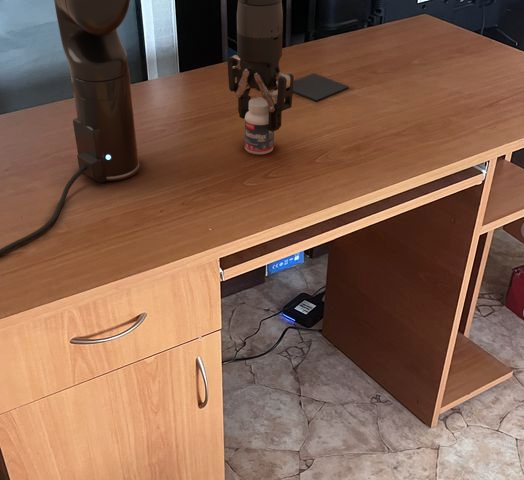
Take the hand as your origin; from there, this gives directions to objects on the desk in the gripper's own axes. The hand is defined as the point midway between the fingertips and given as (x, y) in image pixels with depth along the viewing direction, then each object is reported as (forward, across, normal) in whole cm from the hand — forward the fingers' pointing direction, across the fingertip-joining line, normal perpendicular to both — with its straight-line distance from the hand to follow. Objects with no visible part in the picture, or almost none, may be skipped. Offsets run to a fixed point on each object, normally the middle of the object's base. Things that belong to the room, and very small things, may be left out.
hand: (259, 123), depth 140 cm
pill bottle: (+5, 0, 0) cm, 5 cm away
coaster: (+5, -12, +28) cm, 31 cm away
